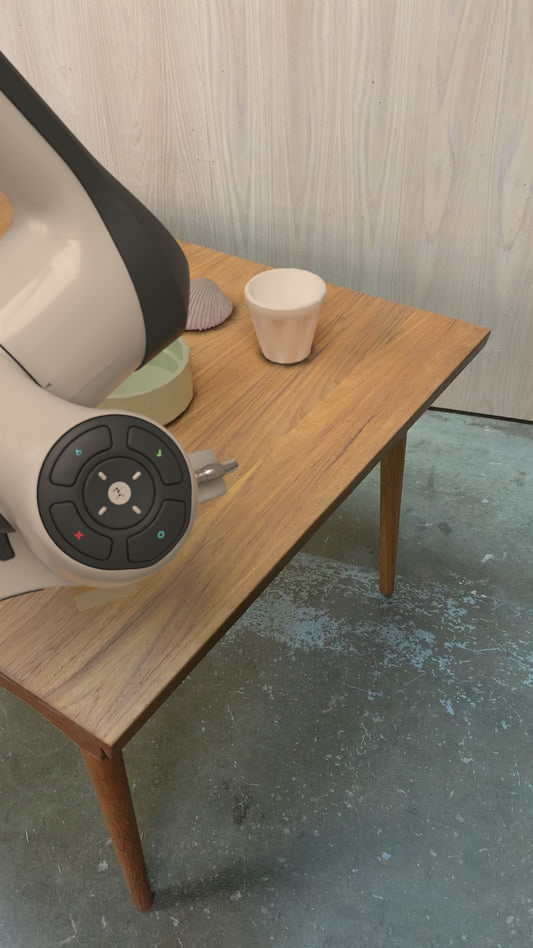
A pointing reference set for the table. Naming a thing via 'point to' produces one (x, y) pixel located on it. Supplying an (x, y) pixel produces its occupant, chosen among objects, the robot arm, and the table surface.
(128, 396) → the bowl
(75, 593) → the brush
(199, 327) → the seashell
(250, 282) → the cup
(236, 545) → the table surface
